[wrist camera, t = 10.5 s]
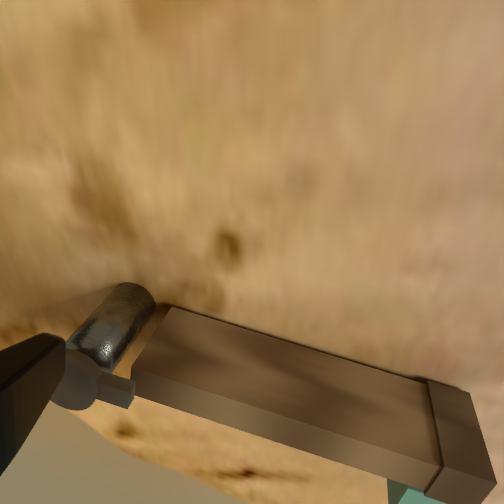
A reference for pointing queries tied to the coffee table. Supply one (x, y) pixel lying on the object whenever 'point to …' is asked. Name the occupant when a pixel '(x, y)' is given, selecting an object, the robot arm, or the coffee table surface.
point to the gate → (300, 403)
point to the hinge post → (114, 326)
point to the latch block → (407, 494)
